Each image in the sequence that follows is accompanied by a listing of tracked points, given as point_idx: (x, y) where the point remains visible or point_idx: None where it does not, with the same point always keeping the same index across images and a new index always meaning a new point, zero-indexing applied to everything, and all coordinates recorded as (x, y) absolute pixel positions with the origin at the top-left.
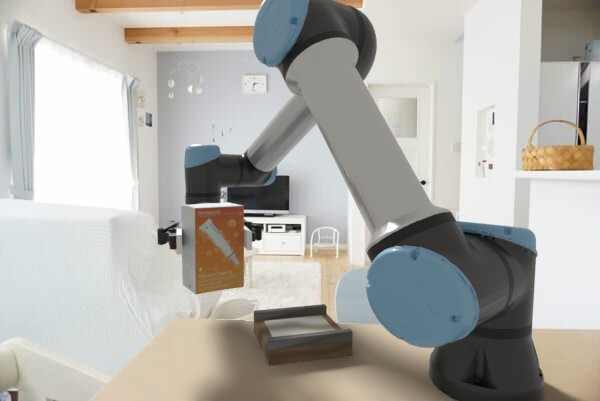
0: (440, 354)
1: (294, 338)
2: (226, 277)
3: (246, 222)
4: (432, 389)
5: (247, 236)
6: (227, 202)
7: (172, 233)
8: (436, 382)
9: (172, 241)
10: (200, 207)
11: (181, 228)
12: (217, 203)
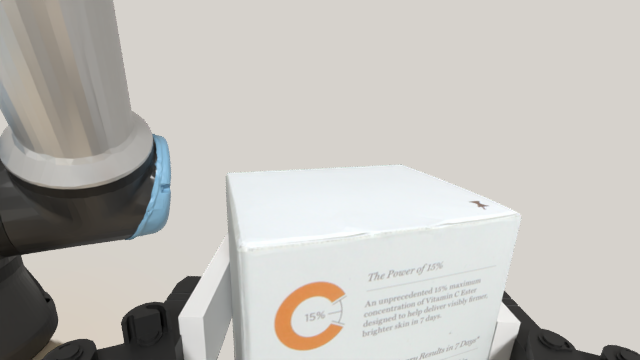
0: (15, 323)
1: None
2: None
3: (167, 305)
4: (47, 353)
5: None
6: (251, 235)
7: (521, 323)
8: (34, 351)
9: None
10: (387, 166)
11: (498, 322)
12: (328, 213)
